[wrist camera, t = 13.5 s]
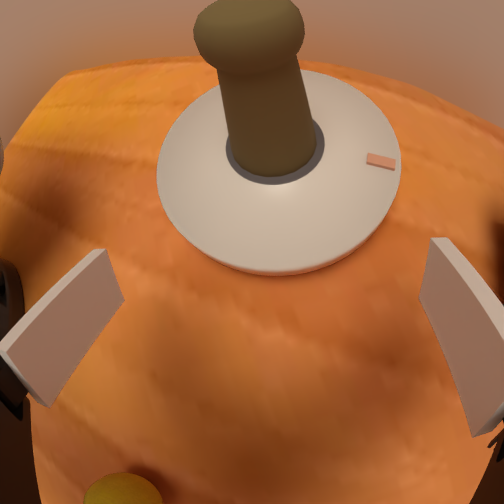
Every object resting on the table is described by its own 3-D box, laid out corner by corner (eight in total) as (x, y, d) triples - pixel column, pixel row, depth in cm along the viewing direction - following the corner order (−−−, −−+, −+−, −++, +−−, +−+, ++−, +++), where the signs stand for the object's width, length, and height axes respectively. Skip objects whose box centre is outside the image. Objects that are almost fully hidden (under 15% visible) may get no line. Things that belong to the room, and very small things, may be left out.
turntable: (135, 243, 22) (118, 233, 19) (212, 80, 26) (206, 64, 24) (377, 304, 17) (387, 299, 15) (395, 102, 21) (400, 84, 19)
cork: (227, 121, 21) (179, -1, 10) (305, 105, 20) (292, -24, 10) (235, 185, 19) (170, 47, 8) (326, 168, 18) (330, 15, 8)
